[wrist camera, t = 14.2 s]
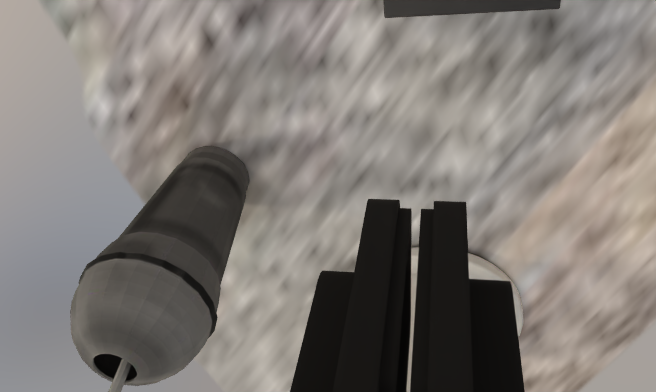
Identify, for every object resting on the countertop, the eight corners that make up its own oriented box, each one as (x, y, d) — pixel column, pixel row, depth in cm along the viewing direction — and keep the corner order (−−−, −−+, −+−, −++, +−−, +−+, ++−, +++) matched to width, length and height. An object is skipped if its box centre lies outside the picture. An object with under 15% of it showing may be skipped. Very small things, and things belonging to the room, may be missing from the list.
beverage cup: (252, 121, 37) (106, 411, 21) (282, 214, 41) (178, 512, 25) (146, 133, 39) (-60, 407, 23) (185, 220, 43) (33, 502, 27)
